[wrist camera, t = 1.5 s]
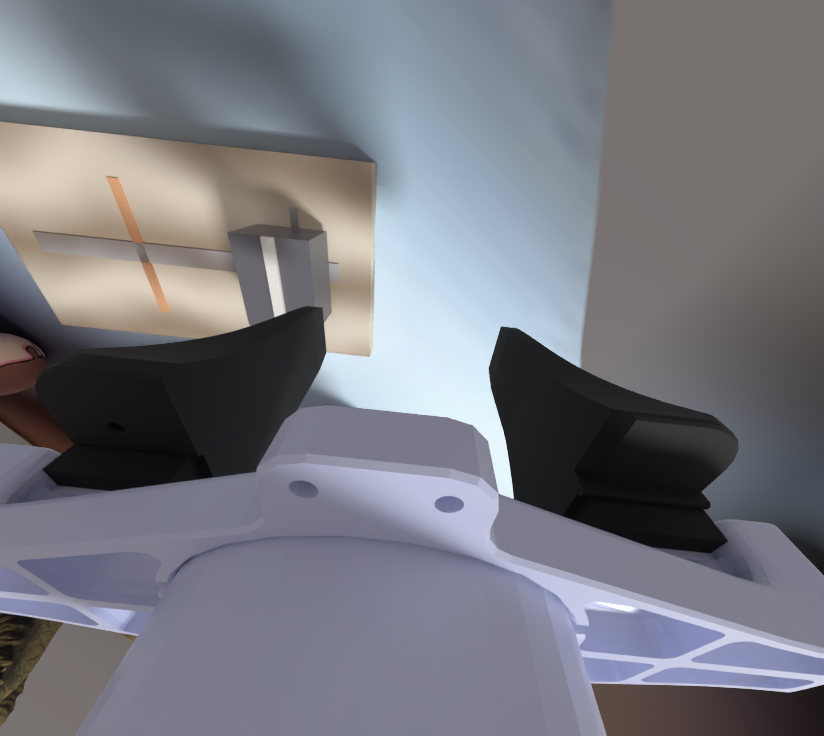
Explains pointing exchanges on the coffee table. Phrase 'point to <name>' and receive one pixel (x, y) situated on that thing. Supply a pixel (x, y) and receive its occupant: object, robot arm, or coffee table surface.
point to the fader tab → (281, 270)
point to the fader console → (177, 228)
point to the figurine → (22, 653)
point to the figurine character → (19, 363)
